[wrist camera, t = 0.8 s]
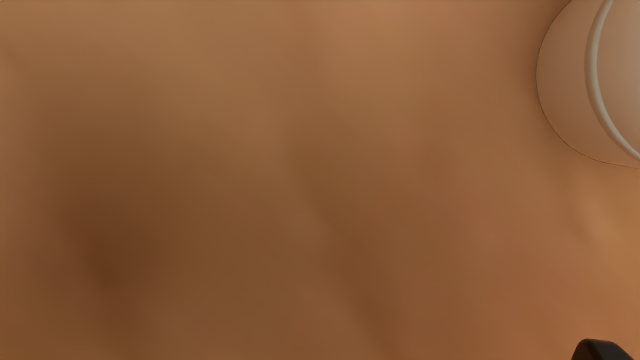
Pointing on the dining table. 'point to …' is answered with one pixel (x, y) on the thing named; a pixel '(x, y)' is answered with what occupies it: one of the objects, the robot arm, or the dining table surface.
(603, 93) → the tumbler stack
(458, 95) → the dining table surface
